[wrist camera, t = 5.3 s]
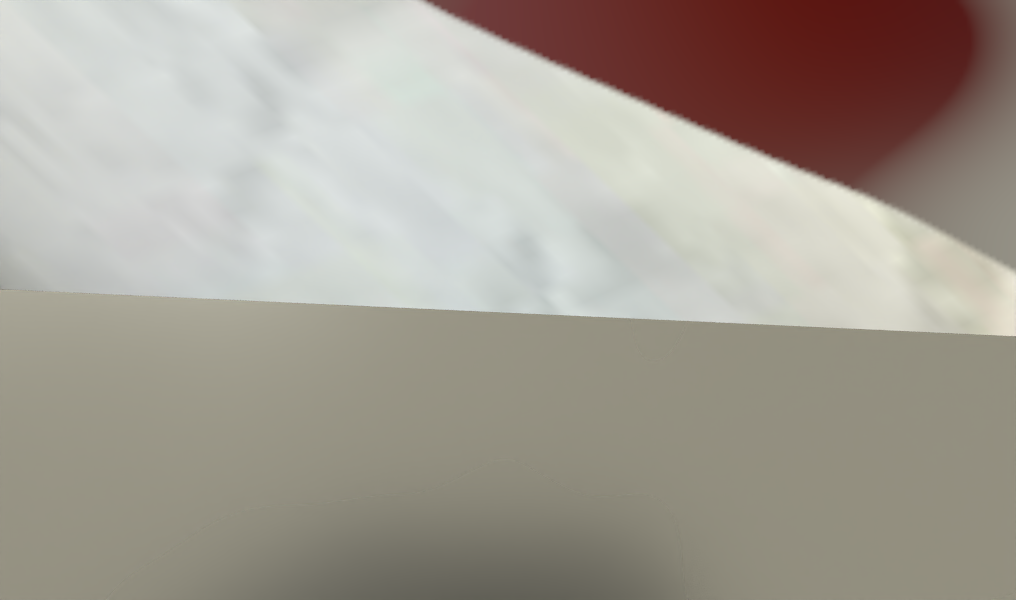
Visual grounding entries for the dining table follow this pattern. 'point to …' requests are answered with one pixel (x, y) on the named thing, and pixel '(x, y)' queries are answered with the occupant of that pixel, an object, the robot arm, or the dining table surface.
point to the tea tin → (494, 456)
